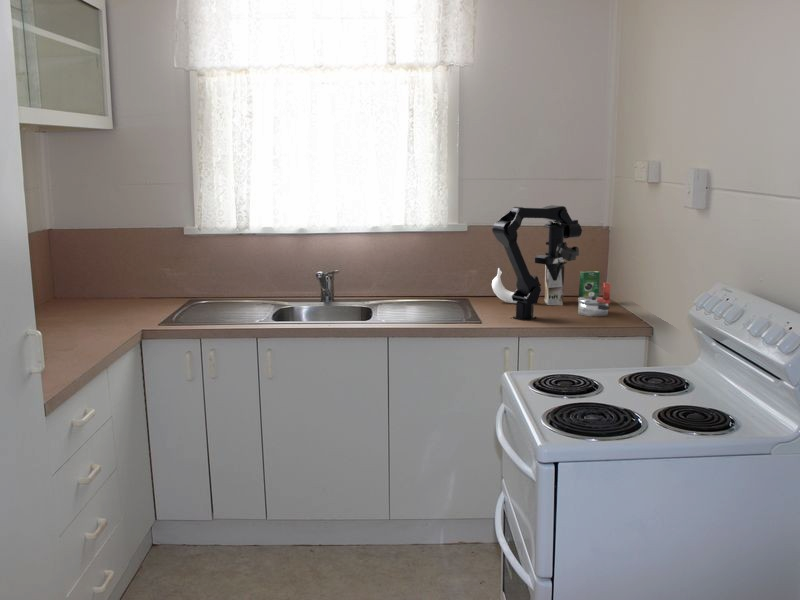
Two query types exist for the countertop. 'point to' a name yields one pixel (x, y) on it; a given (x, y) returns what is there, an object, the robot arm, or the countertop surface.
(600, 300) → the lid
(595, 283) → the coffee box
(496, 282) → the banana
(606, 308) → the pot
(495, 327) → the countertop surface
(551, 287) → the coffee box
